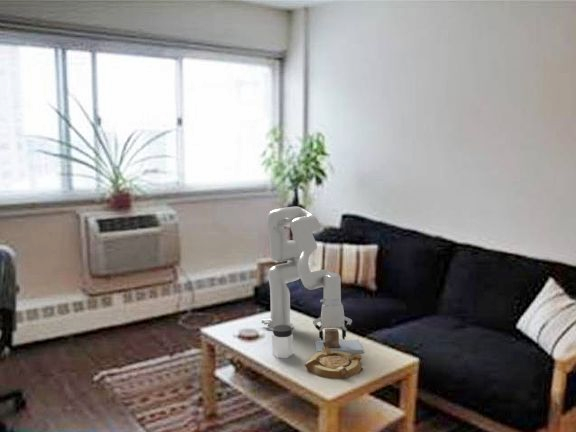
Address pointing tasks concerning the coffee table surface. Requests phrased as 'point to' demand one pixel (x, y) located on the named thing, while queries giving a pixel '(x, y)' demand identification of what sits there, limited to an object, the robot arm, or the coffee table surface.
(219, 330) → the coffee table surface
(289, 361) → the coffee table surface
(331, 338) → the block
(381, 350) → the coffee table surface
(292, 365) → the coffee table surface
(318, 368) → the ashtray
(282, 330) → the jar
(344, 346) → the pocket board
